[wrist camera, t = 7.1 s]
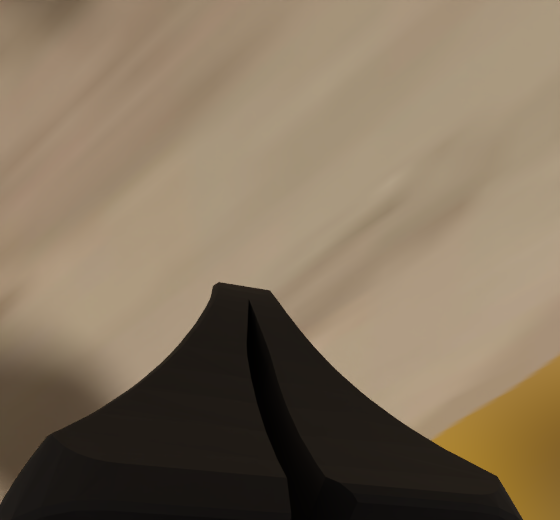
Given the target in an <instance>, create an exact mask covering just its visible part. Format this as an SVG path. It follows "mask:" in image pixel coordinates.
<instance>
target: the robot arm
mask: <svg viewBox="0 0 560 520" xmlns="http://www.w3.org/2000/svg"><path fill="white" fill-rule="evenodd" d="M0 520H523V519H522V517H521V516H520V514H519V512H518V511H517V509H516V507H515V505H514V504H513V502H512V500H511V499H510V497H509V495H508V494H507V492H506V491H505V488H504V487H503V485H502V484H501V482H500V480H499V479H498V477H497V476H495V475H493V474H492V473H489V472H488V471H486V470H483V469H482V468H480V467H478V466H476V465H474V464H472V463H470V462H468V461H467V460H465V459H463V458H461V457H459V456H457V455H455V454H453V453H451V452H449V451H447V450H445V449H444V448H442V447H440V446H439V445H437V444H435V443H434V442H432V441H430V440H429V439H427V438H425V437H424V436H422V435H421V434H419V433H417V432H416V431H414V430H412V429H411V428H409V427H408V426H406V425H405V424H403V423H402V422H400V421H399V420H397V419H396V418H394V417H393V416H392V415H390V414H389V413H388V412H386V411H385V410H384V409H382V408H381V407H380V406H378V405H377V404H376V403H374V402H373V401H371V400H370V399H369V398H368V397H366V396H365V395H364V394H363V393H361V392H360V391H359V390H358V389H357V388H356V387H355V386H353V385H352V384H351V383H350V382H349V381H348V380H347V379H346V378H344V377H343V376H342V375H341V374H340V373H339V372H338V371H337V370H336V369H335V368H334V367H333V366H332V365H331V364H330V363H329V362H328V361H327V360H326V359H325V358H324V357H323V356H322V355H321V354H320V353H319V352H318V351H317V349H316V348H315V347H314V346H313V345H312V344H311V343H310V342H309V340H308V339H307V338H306V337H305V336H304V334H303V333H302V332H301V331H300V330H299V328H298V327H297V326H296V324H295V323H294V322H293V321H292V319H291V318H290V317H289V315H288V314H287V313H286V311H285V310H284V309H283V307H282V306H281V305H280V303H279V302H278V301H277V299H276V298H275V297H274V295H273V294H272V293H271V291H270V290H263V289H257V288H251V287H245V286H239V285H233V284H226V283H220V282H219V283H217V284H215V285H214V286H213V289H212V294H211V298H210V300H209V302H208V304H207V306H206V308H205V310H204V311H203V313H202V314H201V316H200V317H199V319H198V321H197V322H196V324H195V325H194V326H193V328H192V329H191V330H190V331H189V333H188V334H187V335H186V337H185V338H184V339H183V340H182V342H181V343H180V344H179V345H178V346H177V347H176V348H175V349H174V351H173V352H172V353H171V354H170V355H169V356H168V357H167V358H166V359H165V360H164V361H163V362H162V363H161V364H160V365H158V366H157V367H156V368H155V369H154V370H153V371H152V372H150V373H149V374H148V375H147V376H146V377H144V378H143V379H142V380H141V381H140V382H138V383H137V384H136V385H135V386H133V387H132V388H130V389H129V390H128V391H126V392H125V393H123V394H122V395H120V396H119V397H117V398H116V399H114V400H113V401H111V402H110V403H108V404H107V405H105V406H104V407H102V408H101V409H99V410H97V411H96V412H94V413H92V414H90V415H89V416H87V417H85V418H83V419H81V420H79V421H77V422H75V423H73V424H71V425H69V426H67V427H65V428H63V429H61V430H59V431H56V432H54V433H52V434H50V435H49V436H47V437H46V439H45V440H44V441H43V442H42V444H41V445H40V446H39V448H38V449H37V450H36V451H35V453H34V454H33V455H32V457H31V458H30V459H29V461H28V462H27V463H26V465H25V466H24V468H23V469H22V471H21V472H20V473H19V475H18V476H17V478H16V479H15V481H14V483H13V484H12V486H11V487H10V489H9V491H8V492H7V494H6V495H5V497H4V499H3V500H2V502H1V504H0Z"/></svg>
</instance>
